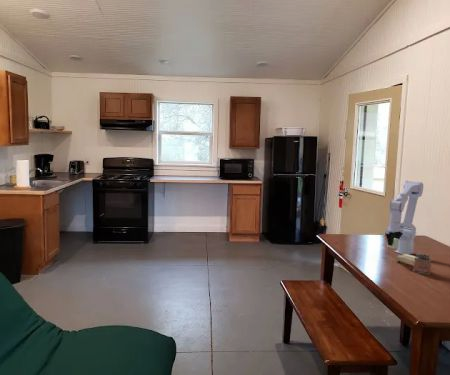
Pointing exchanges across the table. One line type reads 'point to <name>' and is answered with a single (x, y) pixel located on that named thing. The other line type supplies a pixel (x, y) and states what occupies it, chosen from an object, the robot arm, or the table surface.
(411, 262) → the maple block
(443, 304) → the table surface
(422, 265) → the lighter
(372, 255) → the table surface
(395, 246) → the sage block
